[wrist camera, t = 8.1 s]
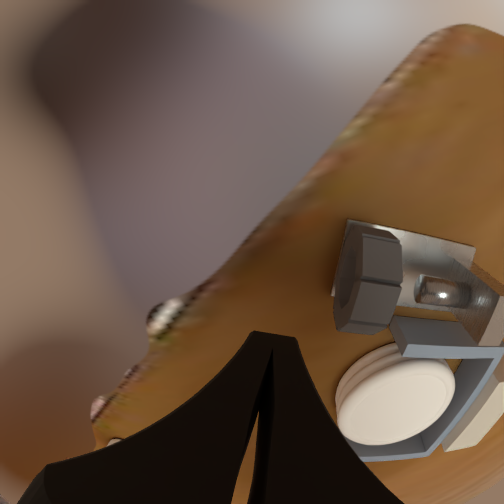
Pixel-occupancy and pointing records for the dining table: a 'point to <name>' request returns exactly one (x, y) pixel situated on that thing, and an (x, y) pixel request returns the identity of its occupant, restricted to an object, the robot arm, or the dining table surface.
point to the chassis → (465, 395)
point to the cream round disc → (392, 396)
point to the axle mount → (446, 282)
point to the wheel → (368, 281)
